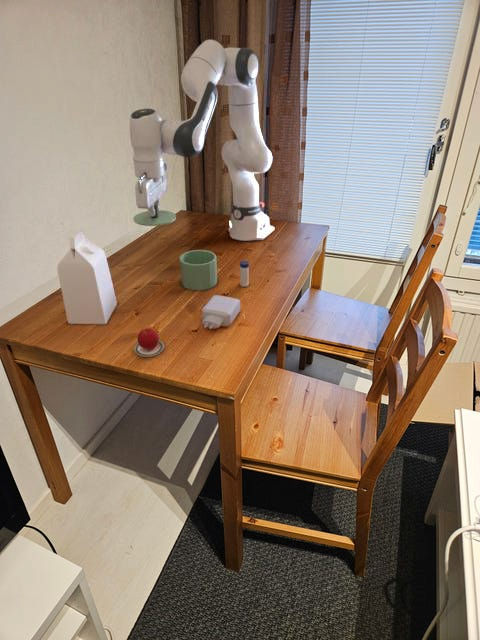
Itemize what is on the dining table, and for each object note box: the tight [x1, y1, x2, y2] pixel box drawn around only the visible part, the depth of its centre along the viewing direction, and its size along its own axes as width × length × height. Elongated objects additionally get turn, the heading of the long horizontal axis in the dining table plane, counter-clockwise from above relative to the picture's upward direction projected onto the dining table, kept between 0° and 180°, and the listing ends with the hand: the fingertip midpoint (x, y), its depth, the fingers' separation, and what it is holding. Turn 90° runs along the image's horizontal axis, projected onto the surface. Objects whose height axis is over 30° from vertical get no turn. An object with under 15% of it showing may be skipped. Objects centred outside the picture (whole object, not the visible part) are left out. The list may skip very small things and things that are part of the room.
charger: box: [201, 294, 241, 330], centre depth 123 cm, size 5×9×15 cm
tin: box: [179, 249, 218, 291], centre depth 144 cm, size 13×13×10 cm
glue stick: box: [239, 260, 250, 288], centre depth 142 cm, size 3×3×8 cm
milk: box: [56, 230, 118, 325], centre depth 122 cm, size 12×12×26 cm
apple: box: [133, 327, 165, 358], centre depth 111 cm, size 8×8×6 cm
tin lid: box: [132, 205, 177, 227], centre depth 132 cm, size 14×14×5 cm
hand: (154, 213), depth 132 cm, fingers closed on tin lid, 2 cm apart
